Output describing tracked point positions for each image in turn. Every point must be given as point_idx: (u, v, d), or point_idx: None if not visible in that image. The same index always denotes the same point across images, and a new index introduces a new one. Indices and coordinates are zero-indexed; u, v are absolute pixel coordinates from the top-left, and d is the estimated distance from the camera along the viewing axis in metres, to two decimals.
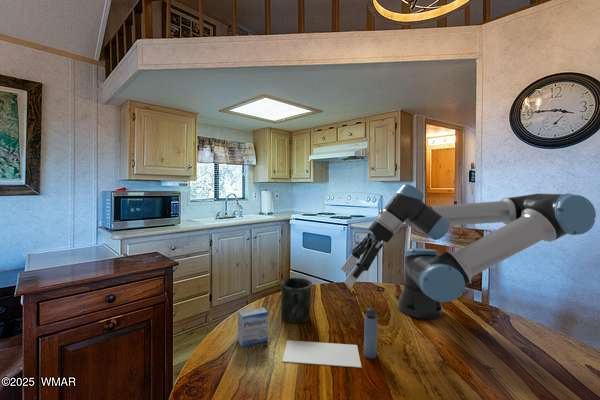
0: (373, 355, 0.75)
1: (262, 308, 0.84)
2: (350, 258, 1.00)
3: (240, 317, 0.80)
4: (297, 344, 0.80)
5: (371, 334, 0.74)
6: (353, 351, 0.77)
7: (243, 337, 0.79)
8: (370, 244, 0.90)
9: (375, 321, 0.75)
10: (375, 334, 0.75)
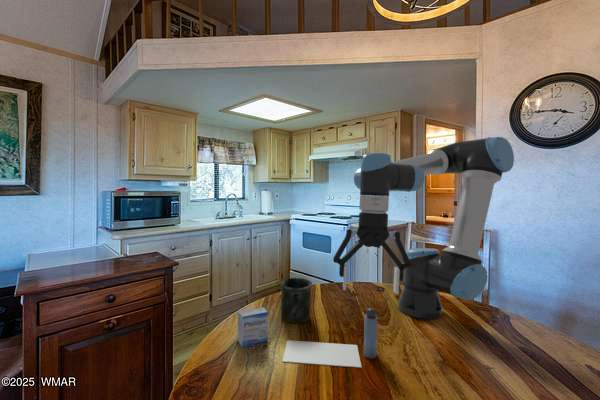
0: (373, 355, 0.75)
1: (262, 308, 0.84)
2: (346, 270, 0.76)
3: (240, 317, 0.80)
4: (297, 344, 0.80)
5: (371, 334, 0.74)
6: (353, 351, 0.77)
7: (243, 337, 0.79)
8: (384, 240, 0.75)
9: (375, 321, 0.75)
10: (375, 334, 0.75)
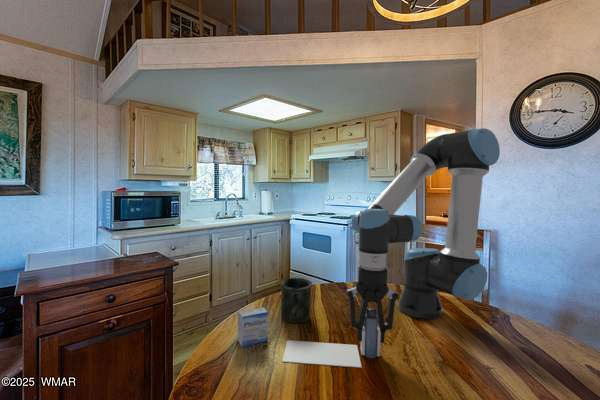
0: (373, 355, 0.75)
1: (262, 308, 0.84)
2: (364, 335, 0.76)
3: (240, 317, 0.80)
4: (297, 344, 0.80)
5: (371, 334, 0.74)
6: (353, 351, 0.77)
7: (243, 337, 0.79)
8: (384, 295, 0.75)
9: (375, 321, 0.75)
10: (375, 334, 0.75)
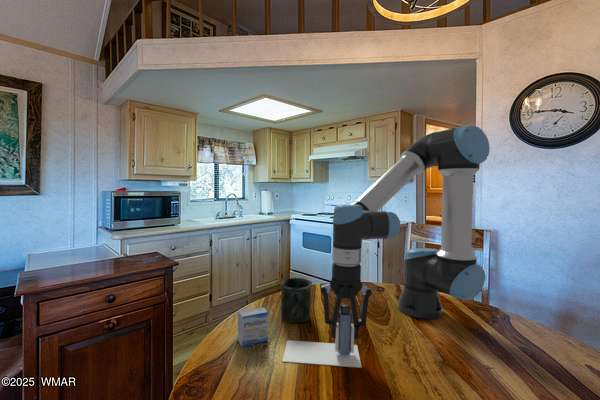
0: (347, 352, 0.74)
1: (262, 308, 0.84)
2: (338, 331, 0.75)
3: (240, 317, 0.80)
4: (297, 344, 0.80)
5: (345, 330, 0.74)
6: None
7: (243, 337, 0.79)
8: (357, 292, 0.74)
9: (349, 317, 0.74)
10: (349, 330, 0.74)
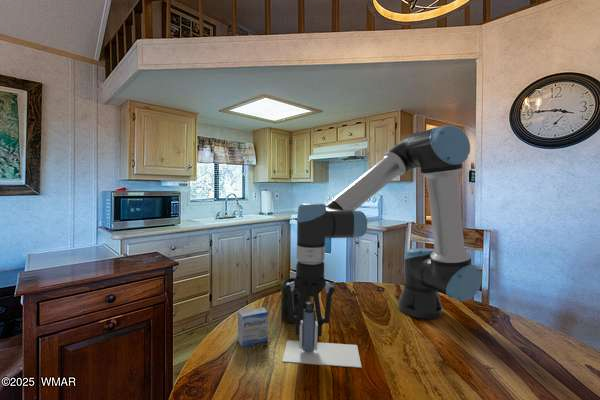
0: (310, 349, 0.75)
1: (262, 308, 0.84)
2: (302, 329, 0.76)
3: (240, 317, 0.80)
4: (297, 344, 0.80)
5: (308, 328, 0.75)
6: (353, 351, 0.77)
7: (243, 337, 0.79)
8: (321, 289, 0.75)
9: (312, 315, 0.75)
10: (312, 328, 0.75)
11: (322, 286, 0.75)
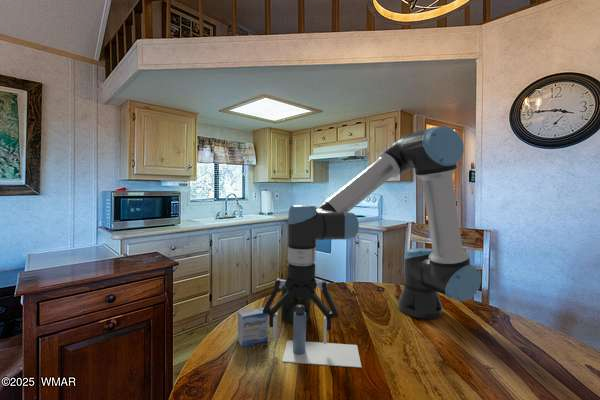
0: (301, 351, 0.75)
1: (262, 308, 0.84)
2: (276, 321, 0.76)
3: (240, 317, 0.80)
4: None
5: (299, 331, 0.75)
6: (353, 351, 0.77)
7: (243, 337, 0.79)
8: (312, 291, 0.75)
9: (303, 318, 0.75)
10: (303, 331, 0.75)
11: (313, 287, 0.75)
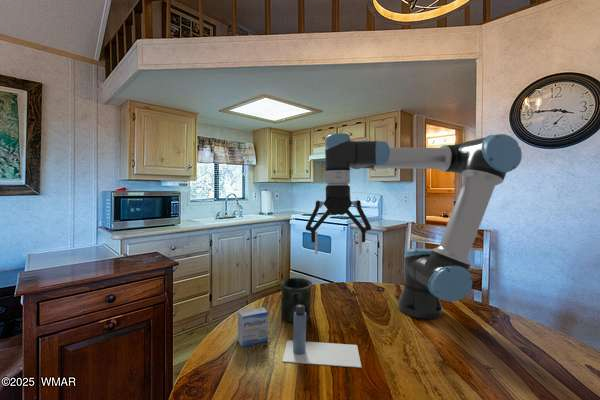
0: (301, 351, 0.75)
1: (262, 308, 0.84)
2: None
3: (240, 317, 0.80)
4: None
5: (299, 331, 0.75)
6: (353, 351, 0.77)
7: (243, 337, 0.79)
8: (348, 208, 0.87)
9: (303, 318, 0.75)
10: (303, 331, 0.75)
11: (349, 205, 0.87)
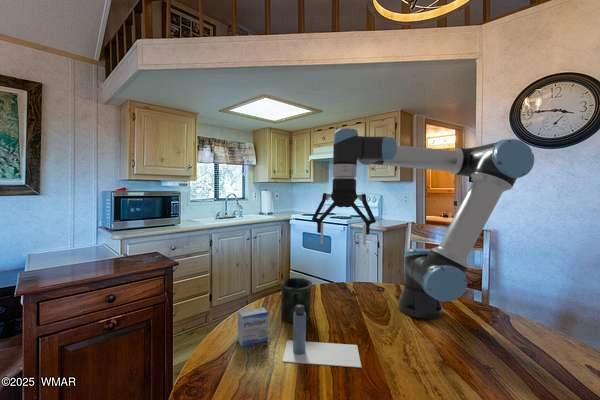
0: (301, 351, 0.75)
1: (262, 308, 0.84)
2: None
3: (240, 317, 0.80)
4: None
5: (299, 331, 0.75)
6: (353, 351, 0.77)
7: (243, 337, 0.79)
8: (353, 201, 0.90)
9: (302, 318, 0.75)
10: (303, 331, 0.75)
11: (354, 198, 0.90)
